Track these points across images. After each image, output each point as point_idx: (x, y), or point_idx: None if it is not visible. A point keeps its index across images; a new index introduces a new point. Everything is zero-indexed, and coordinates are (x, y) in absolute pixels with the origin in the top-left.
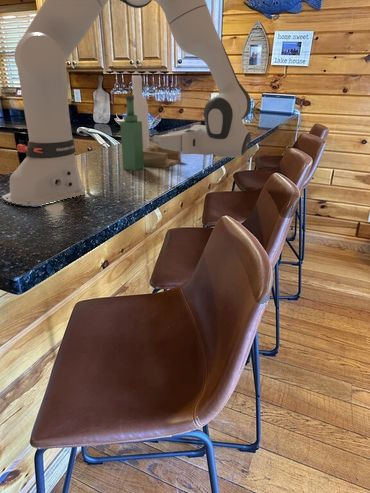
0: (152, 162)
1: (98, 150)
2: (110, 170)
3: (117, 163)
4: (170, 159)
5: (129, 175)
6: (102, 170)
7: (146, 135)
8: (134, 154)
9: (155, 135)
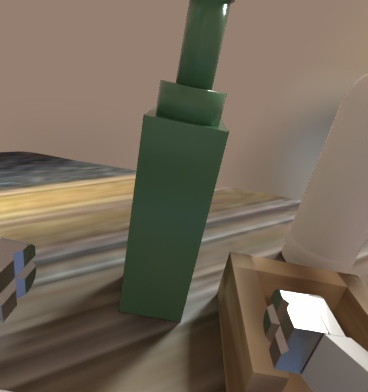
0: (226, 334)
1: (272, 195)
2: (102, 248)
3: None
4: None
5: (29, 317)
6: (97, 234)
7: (351, 218)
8: (126, 256)
9: (4, 244)
